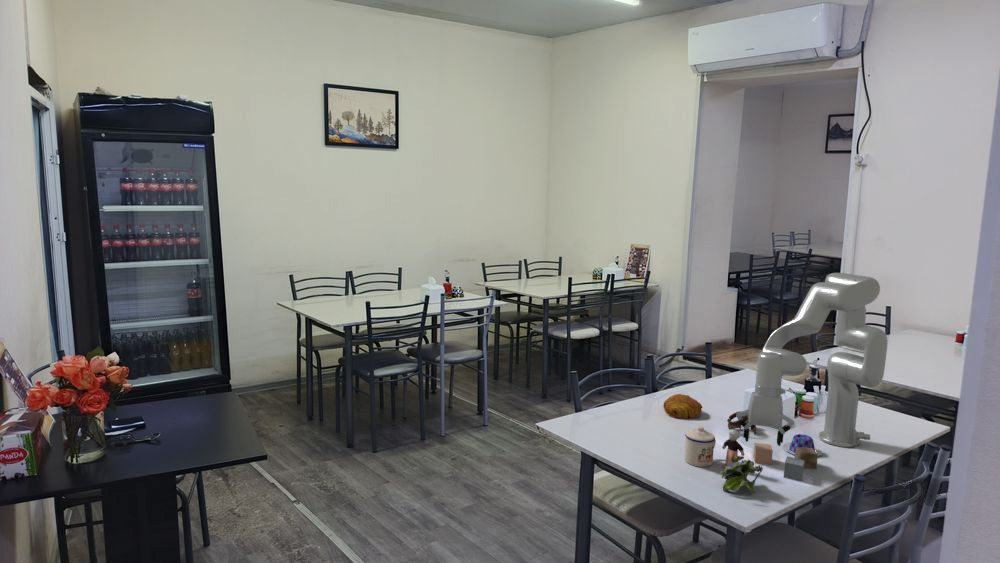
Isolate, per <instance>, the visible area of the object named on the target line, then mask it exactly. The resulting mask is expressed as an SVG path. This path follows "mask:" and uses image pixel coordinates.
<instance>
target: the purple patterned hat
mask: <svg viewBox="0 0 1000 563" xmlns="http://www.w3.org/2000/svg"><path fill="white" fill-rule="evenodd" d="M796 447H804V448H812V449H813V450H814V451H815V450H816V452H817V454H818V457H820V456H821V455H822V454H823V452H822V450H820V449H819V448H818V447H816V446H815V442H814V439H813V438H812V436H809V435H807V434H801V433H799V434H794V435H793V437H792V440H791V442H787V443H784V444H783V445H782V448H783V449H784V450H785V451H786V452H788V453H790V454H791V455H795V450H796Z"/></svg>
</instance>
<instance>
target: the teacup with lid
mask: <svg viewBox="0 0 1000 563" xmlns="http://www.w3.org/2000/svg"><path fill="white" fill-rule="evenodd" d="M684 436H685V446H684V448H685V450H684V461H685V462H686V463H687V464H689V465H690V466H694V467H700V468H705V467H710V466H711V465H713V462H714V461H713V460H714V449H715V447H716V442H717V439H716V438H715V437H716V436H715V435H714V434H713V433H712V432H711V431H708V430H706V429H705V428H704V426H701V425H700V426H697V428H695V429H694V428H693V429H689V430H687V431H686V433H685V435H684Z"/></svg>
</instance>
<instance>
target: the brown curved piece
mask: <svg viewBox="0 0 1000 563" xmlns="http://www.w3.org/2000/svg"><path fill="white" fill-rule="evenodd" d="M739 412H742V410H741V411H736V412H734V413H732V414H730V415H729V416H728V419H727V428H728V429H729V430H731V429H733V430H736V429H739V430H742V425H741V424H740V423H739V421H738V420H735V421H734V419H736V418H737V416H736V414H737V413H739ZM732 420H733V421H732ZM742 420H743V421H744V422H746V421H747V420H748V418H747V415H745V416H743V417H742ZM749 428H750V430H751V431H753V434H754V436H756V435H758V431H757V425H751V426H750V427H749Z"/></svg>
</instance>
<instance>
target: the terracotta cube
mask: <svg viewBox="0 0 1000 563" xmlns="http://www.w3.org/2000/svg"><path fill="white" fill-rule="evenodd" d="M773 453H774V451H773V447H772V444H768V443H760V442H754V444H753V455H752V456H753V457H752V458H753V462H754V464H758V465H768V466H772V463H773Z"/></svg>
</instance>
